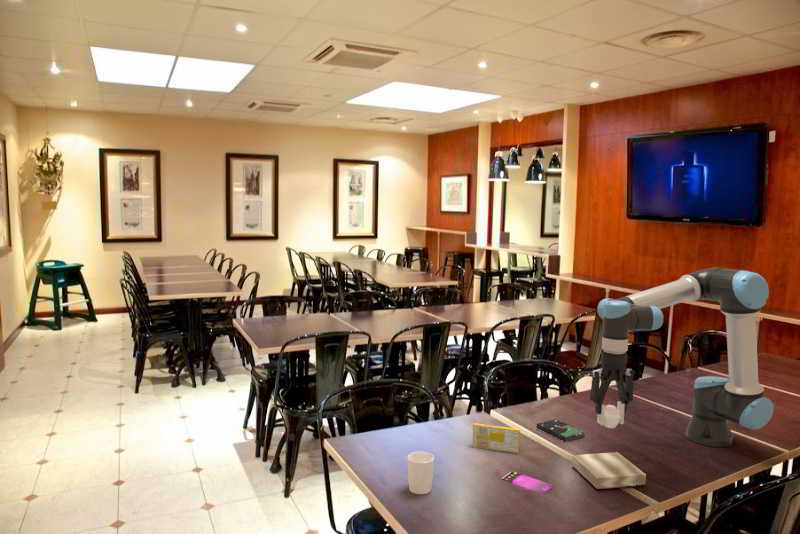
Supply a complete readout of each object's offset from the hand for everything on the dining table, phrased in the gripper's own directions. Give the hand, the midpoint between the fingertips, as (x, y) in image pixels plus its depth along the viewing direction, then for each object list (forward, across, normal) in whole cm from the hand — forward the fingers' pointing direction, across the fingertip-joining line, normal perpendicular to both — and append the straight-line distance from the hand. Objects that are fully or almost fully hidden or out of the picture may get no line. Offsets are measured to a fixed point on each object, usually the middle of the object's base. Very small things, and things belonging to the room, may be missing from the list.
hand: (610, 423), depth 180 cm
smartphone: (+18, +27, 0) cm, 32 cm away
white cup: (+18, +60, -1) cm, 63 cm away
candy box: (+18, +28, -25) cm, 41 cm away
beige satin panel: (+17, 0, +1) cm, 17 cm away
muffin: (+1, 0, 0) cm, 1 cm away
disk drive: (+18, -1, -34) cm, 39 cm away
